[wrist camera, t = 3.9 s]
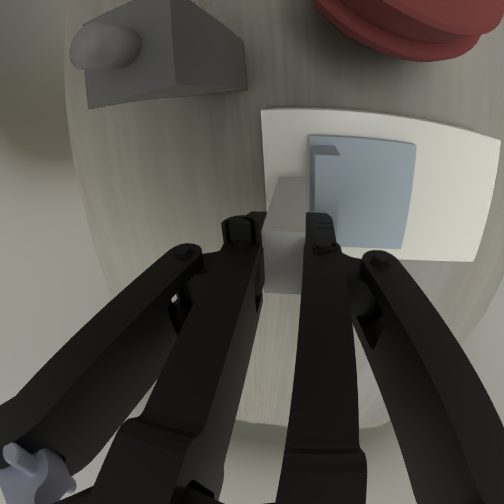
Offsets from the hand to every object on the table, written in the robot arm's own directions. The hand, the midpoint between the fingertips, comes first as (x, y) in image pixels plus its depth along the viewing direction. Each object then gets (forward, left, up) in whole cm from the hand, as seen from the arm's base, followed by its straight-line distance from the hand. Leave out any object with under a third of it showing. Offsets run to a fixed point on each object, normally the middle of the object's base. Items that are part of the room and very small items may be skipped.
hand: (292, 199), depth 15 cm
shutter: (0, +4, -2) cm, 4 cm away
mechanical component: (-13, +6, -6) cm, 16 cm away
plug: (-9, -5, -6) cm, 12 cm away
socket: (0, +7, -6) cm, 9 cm away
